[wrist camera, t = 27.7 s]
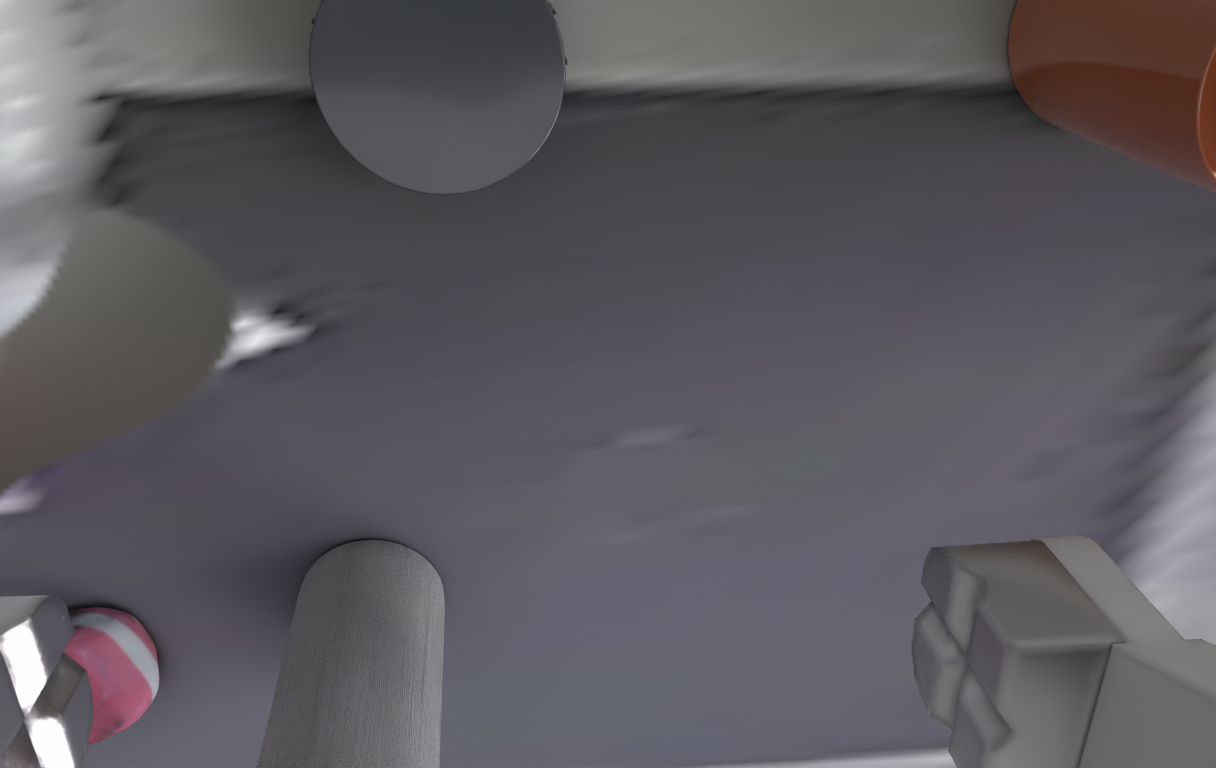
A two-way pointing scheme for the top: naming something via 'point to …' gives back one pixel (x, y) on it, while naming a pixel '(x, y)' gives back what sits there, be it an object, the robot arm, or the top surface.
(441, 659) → the planter
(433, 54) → the jar lid
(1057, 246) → the top surface
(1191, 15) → the jar
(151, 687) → the eraser
